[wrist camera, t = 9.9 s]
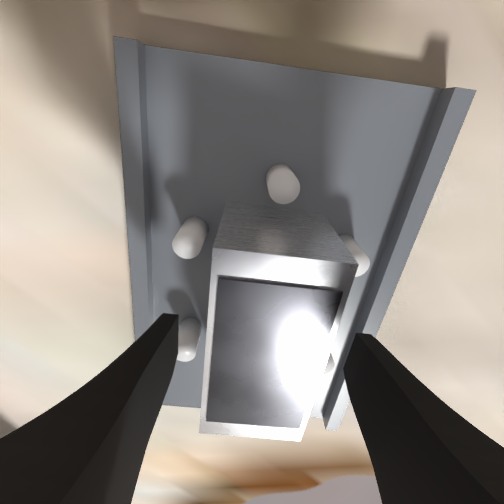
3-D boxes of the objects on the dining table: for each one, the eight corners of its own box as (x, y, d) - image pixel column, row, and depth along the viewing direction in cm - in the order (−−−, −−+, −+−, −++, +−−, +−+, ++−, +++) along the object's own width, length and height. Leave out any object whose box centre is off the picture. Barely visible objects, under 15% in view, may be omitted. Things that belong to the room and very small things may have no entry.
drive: (322, 213, 13) (359, 266, 9) (287, 355, 17) (300, 443, 13) (226, 201, 13) (212, 249, 8) (213, 348, 17) (198, 435, 12)
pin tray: (446, 93, 12) (502, 87, 9) (330, 405, 21) (342, 449, 18) (133, 47, 11) (95, 26, 9) (149, 390, 20) (133, 433, 17)
